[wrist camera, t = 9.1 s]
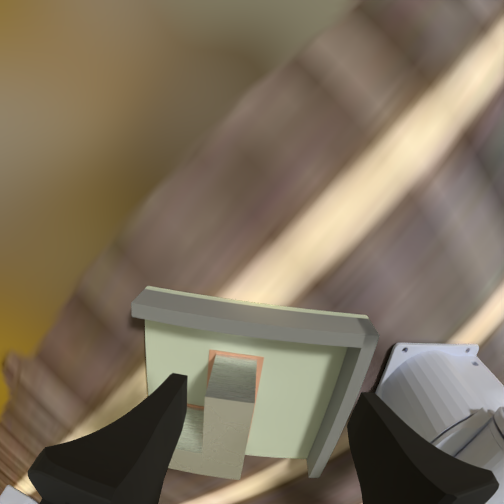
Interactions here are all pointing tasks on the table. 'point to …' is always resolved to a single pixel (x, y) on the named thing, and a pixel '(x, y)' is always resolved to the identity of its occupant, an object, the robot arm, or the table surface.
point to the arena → (264, 364)
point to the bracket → (219, 421)
